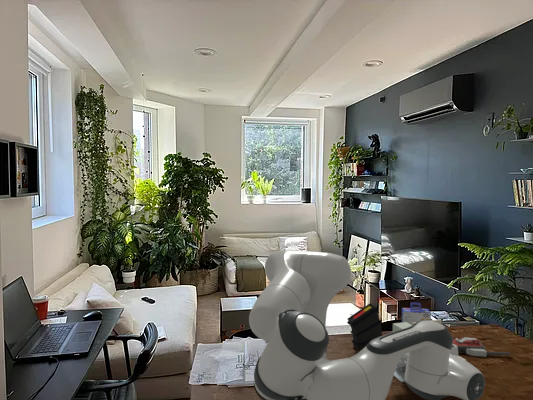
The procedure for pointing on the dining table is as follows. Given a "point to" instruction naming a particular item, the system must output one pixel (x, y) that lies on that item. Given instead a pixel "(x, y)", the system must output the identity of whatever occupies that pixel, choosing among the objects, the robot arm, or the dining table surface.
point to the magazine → (365, 326)
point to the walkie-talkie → (474, 347)
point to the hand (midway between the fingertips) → (402, 341)
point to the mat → (399, 375)
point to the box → (395, 328)
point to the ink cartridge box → (415, 314)
